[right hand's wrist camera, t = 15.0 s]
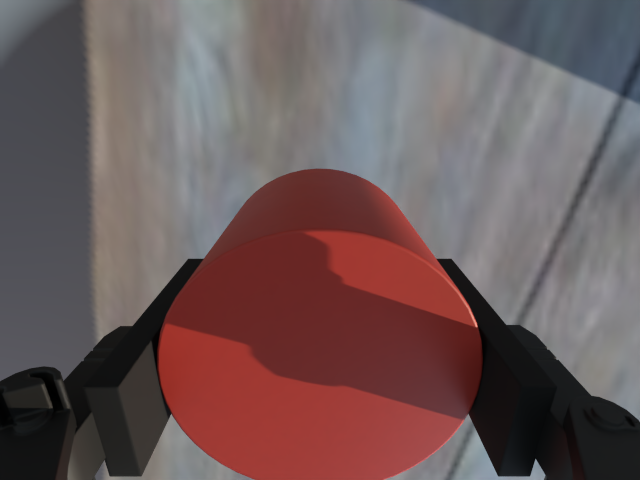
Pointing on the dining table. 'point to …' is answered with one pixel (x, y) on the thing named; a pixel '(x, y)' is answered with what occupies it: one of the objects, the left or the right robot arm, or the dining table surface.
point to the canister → (319, 338)
